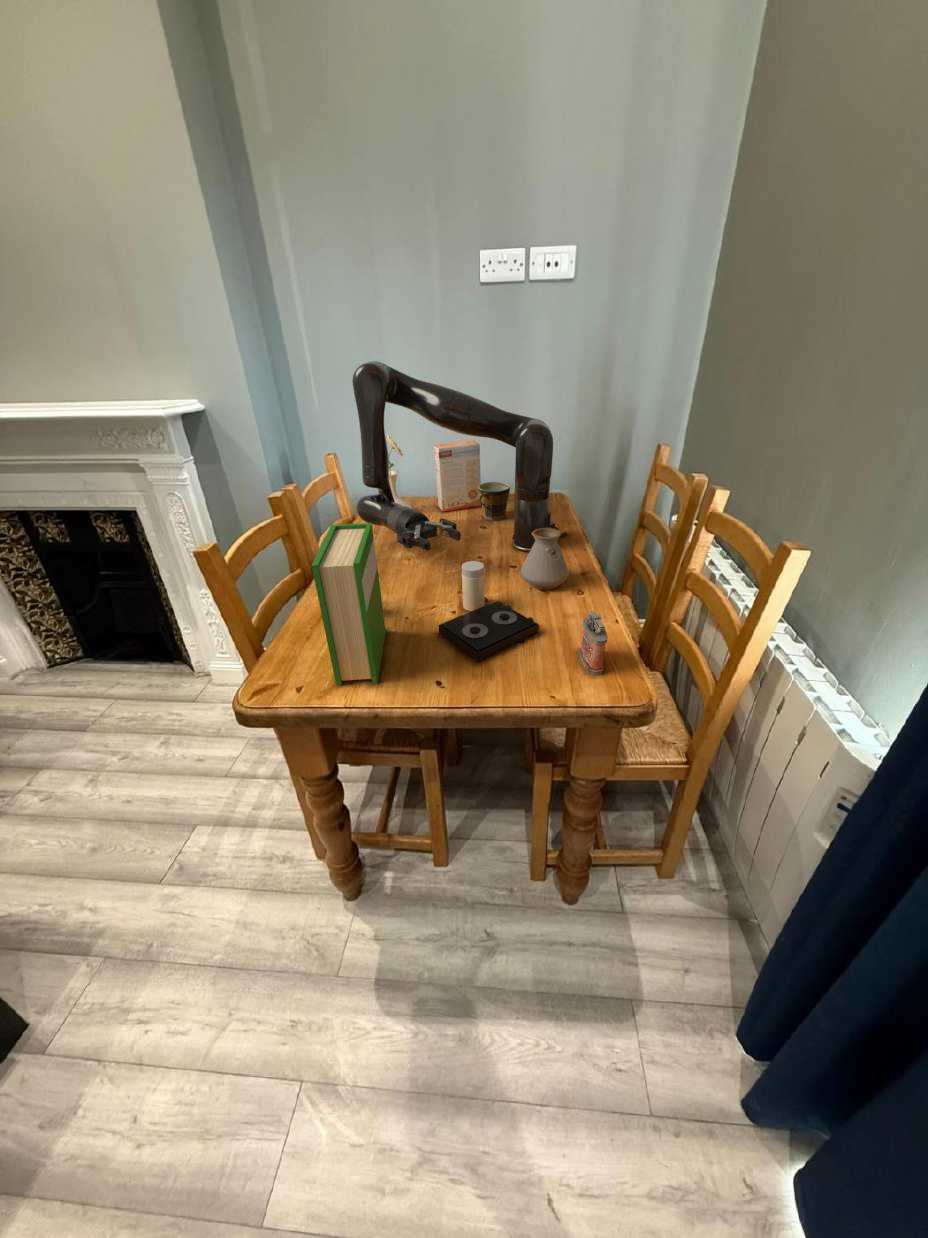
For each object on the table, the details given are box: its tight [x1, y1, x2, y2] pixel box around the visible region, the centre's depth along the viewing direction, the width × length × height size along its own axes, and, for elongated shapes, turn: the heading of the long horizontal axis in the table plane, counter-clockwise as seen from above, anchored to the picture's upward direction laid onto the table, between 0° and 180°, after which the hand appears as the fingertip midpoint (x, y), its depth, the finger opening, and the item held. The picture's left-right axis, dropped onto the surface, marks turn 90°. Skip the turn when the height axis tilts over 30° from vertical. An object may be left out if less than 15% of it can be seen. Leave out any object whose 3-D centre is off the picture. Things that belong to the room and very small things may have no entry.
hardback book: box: [311, 522, 387, 687], centre depth 92 cm, size 18×7×24 cm, turn 3°
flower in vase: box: [386, 434, 413, 509], centre depth 162 cm, size 13×11×25 cm
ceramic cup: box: [478, 481, 511, 521], centre depth 159 cm, size 13×10×10 cm
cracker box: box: [433, 440, 482, 512], centre depth 167 cm, size 14×6×21 cm, turn 108°
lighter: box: [579, 610, 608, 676], centre depth 92 cm, size 8×3×10 cm, turn 5°
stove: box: [437, 600, 539, 663], centre depth 104 cm, size 17×13×3 cm
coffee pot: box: [520, 528, 570, 590], centre depth 115 cm, size 21×12×15 cm, turn 177°
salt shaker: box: [461, 560, 486, 612], centre depth 112 cm, size 5×5×10 cm
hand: (444, 541), depth 117 cm, fingers open, 8 cm apart
